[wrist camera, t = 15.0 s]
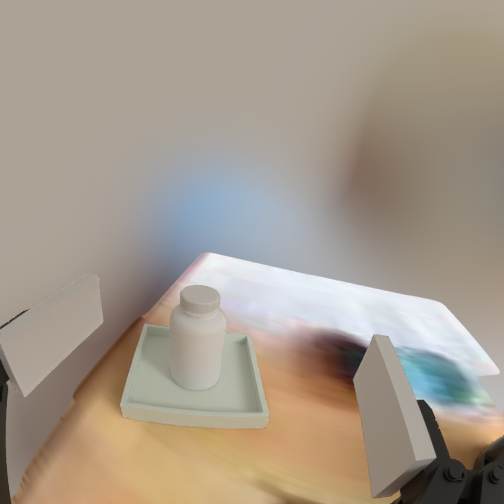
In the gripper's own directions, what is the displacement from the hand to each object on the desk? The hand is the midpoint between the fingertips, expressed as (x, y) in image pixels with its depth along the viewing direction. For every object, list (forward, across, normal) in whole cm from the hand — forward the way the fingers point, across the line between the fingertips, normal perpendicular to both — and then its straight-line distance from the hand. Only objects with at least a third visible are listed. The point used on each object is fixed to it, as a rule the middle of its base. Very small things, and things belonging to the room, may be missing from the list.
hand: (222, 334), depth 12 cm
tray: (+21, -7, -26) cm, 35 cm away
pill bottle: (+21, -7, -25) cm, 34 cm away
